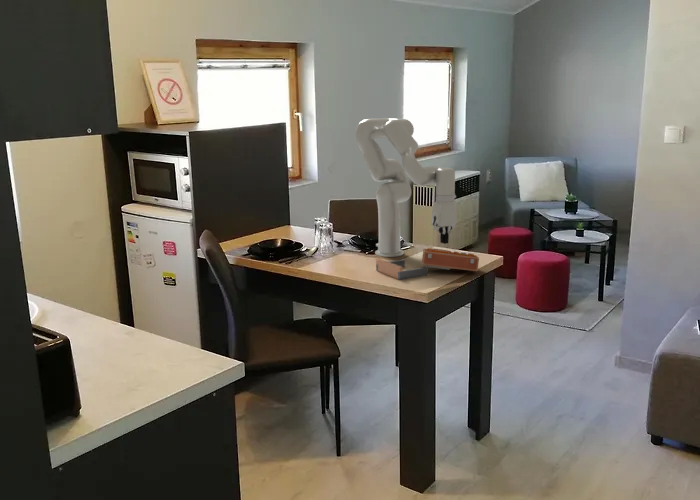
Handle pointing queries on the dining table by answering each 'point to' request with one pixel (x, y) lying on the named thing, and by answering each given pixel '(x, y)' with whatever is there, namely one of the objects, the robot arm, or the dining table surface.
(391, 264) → the docking guide
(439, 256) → the control panel
